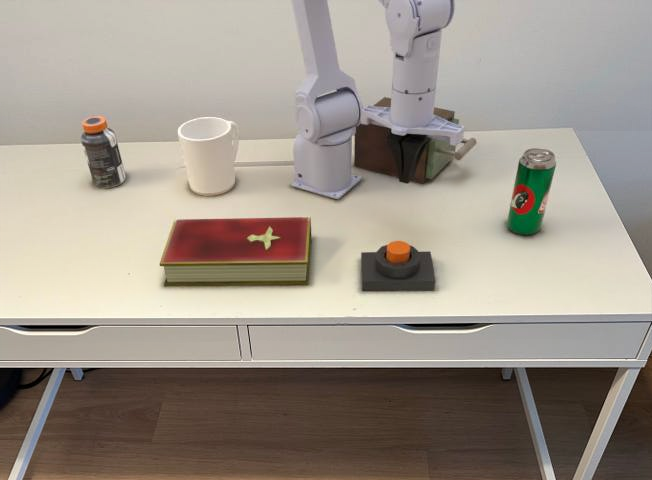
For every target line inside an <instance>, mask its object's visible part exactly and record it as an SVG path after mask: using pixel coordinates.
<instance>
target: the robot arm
mask: <svg viewBox="0 0 652 480" xmlns="http://www.w3.org/2000/svg"><path fill="white" fill-rule="evenodd" d="M378 1H379V3H380V4H381V5H382V6H383V8H385V10H384V15H385V22H386V26H387V29H388V32H389V37H390V39H389V46H390V47H391V48H390V49H391V51H392V52H393V58H392V60H393V61H392V77H391V95H390V98H391V108H389V107H375V106H373V105H367V106H365V107H364V104H363V101H362V98H361V96H360V94H359V91H358V89H357V86H356V80H355V78H354V77H352V76H351V75H350V74H347V73H346V72H344V71H343V70H341V69H340V64H339V63H340V62H339V58H338V54H337V47H336V42H335V36H334V31H333V25H332V24H333V23H332V20H331V14H330V8H329V2H328V0H291V6H292V11H293V15H294V20H295V25H296V30H297V35H298V41H299V46H300V50H301V54H302V59H303V65H304V69H305V74H306V75H305V76H306V77H305V79H303V81H302V83H301V84H300V85H299V87H298V88H297V90H296V91H295V93H294V103H295V124H296V127H297V129H298V131H299V133H298V134H297V135H296V137H295V139H294V143H293V149H292V153H293V154H292V155H293V172H294V182H292V183H291V185H292V187H294V188H296V189H300V190H304V191H307V192H310V193H314V194H317V195H320V196H325V197H327V198H331V199H333V200H339V199H341V198H342V197H343V196H344V195H346V193H348V192H349V191H350V190H351V189H352V188H354V186H356V185H357V184H358V183H359V182H361V180H362V177H361V176H360V175H356V174H352V165H353V163H352V158H353V157H352V156H353V151H352V150H353V149H352V148H353V135H355V133H356V127H357V126H358V125H360V123H361V124H365V125H368V124H369V123H371V124H375V125H380V126H384V127H388V128H390V132H389V135H388V136H386V144H387V145H388V147H389V148H390V150H391V152H392V155H393V157H394V160H395V163H396V166H397V171H398V176H399V177H398V180H399V181H398V182H399V183H402V184H405V185H408V184H410V182H412V181H411V180H413V179H414V176H415V172H416V169H417V166H418V163H419V161H420V159H421V156H422V154H423V152H424V150H425V149H426V147H427V145H428V144H429V142H430V140H431V139H432V138H435V139H439V140H443V141H447V142H450V145H454V146H456V147H457V146H459V145H460V144H461V143H460V142H461V141H462V140H463V139H464V132H465V126H464V125H460V124H459V125H456V124H454V123H451V122H449V121H447V120H445V119H442V118H440V117H438V116H436V115H434V114H433V113H434V107H435V102H436V93H437V92H436V91H437V83H438V73H439V62H440V53H441V42H442V32H443V30H444V29H446V28H447V27H448V26H449V25H450V24H451V23H452V20H453V18H454V14H455V9H456V8H455V7H456V5H455V4H456V2H455V0H378Z"/></svg>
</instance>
